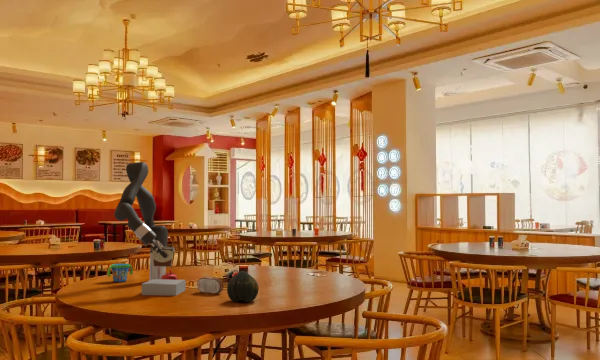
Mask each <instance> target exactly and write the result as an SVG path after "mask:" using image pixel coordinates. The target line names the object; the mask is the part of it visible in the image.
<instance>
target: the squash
mask: <svg viewBox="0 0 600 360" xmlns="http://www.w3.org/2000/svg"><path fill="white" fill-rule="evenodd" d="M259 288H260V287H259V284H258V281H257V280H256V279H255V278H254V277H253V276H252V275H250V273H248V272H247V271H244V270H240V271H239V272H237V274H235V275H233V277H232V278H231V279H230V280H229V282H228V284H227V287H226V293H227V296H228V298H229V299H230V300H231V301H232V302H236V303H237V302H239V301H243V302H244V303H246V302H247V303H250V302H252V301H254V300H255V299H256V298H257V296H258V294H259V290H260V289H259Z"/></svg>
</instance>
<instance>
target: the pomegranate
mask: <svg viewBox="0 0 600 360" xmlns="http://www.w3.org/2000/svg"><path fill="white" fill-rule="evenodd" d="M165 273H166V274H165V275H163V276H162V277H161V279H165V280H179V278H178V276H177V273H176V272H174V271H172V269H169V272H167V271H166V272H165ZM163 274H164V273H163Z"/></svg>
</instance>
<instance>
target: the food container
mask: <svg viewBox="0 0 600 360" xmlns="http://www.w3.org/2000/svg"><path fill="white" fill-rule="evenodd" d="M161 249H162V250H163V251H164V252H165V253H166V254H167V255H168V256H167V257H166V258H163V257H162V255H161V254H159V253H157V252H156V251H155V250H154V249H153V248H152V250H151V251H152V252H153V266H154V267H166V268H172V267H173V266H172V265H173V258H174V252H176V250H175V247H174V246H167V247H161Z"/></svg>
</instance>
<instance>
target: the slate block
mask: <svg viewBox="0 0 600 360" xmlns="http://www.w3.org/2000/svg"><path fill="white" fill-rule="evenodd" d="M185 291H186V279H178V280H165V279H152V280H150V279H149V280H148V281H144V282H142V283H141V296H173V297H175V296H178V295H180V294H182V293H183V292H185Z"/></svg>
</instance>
